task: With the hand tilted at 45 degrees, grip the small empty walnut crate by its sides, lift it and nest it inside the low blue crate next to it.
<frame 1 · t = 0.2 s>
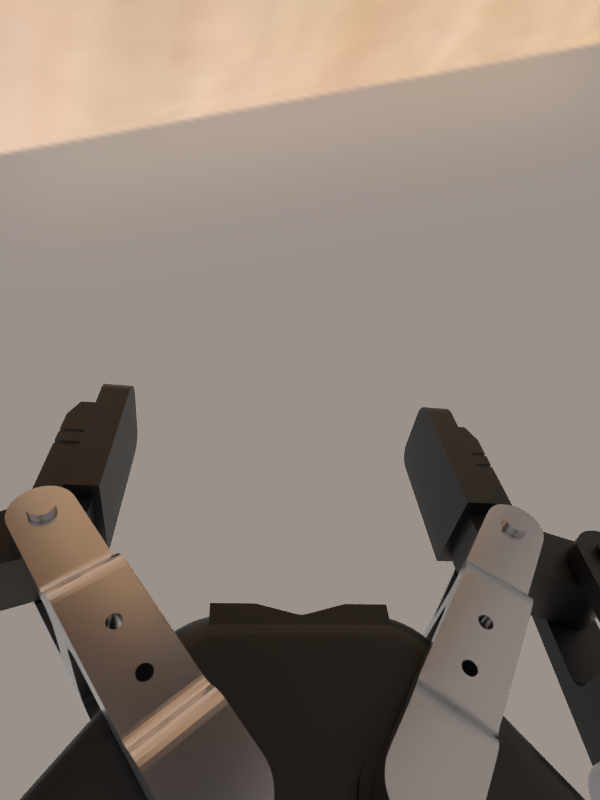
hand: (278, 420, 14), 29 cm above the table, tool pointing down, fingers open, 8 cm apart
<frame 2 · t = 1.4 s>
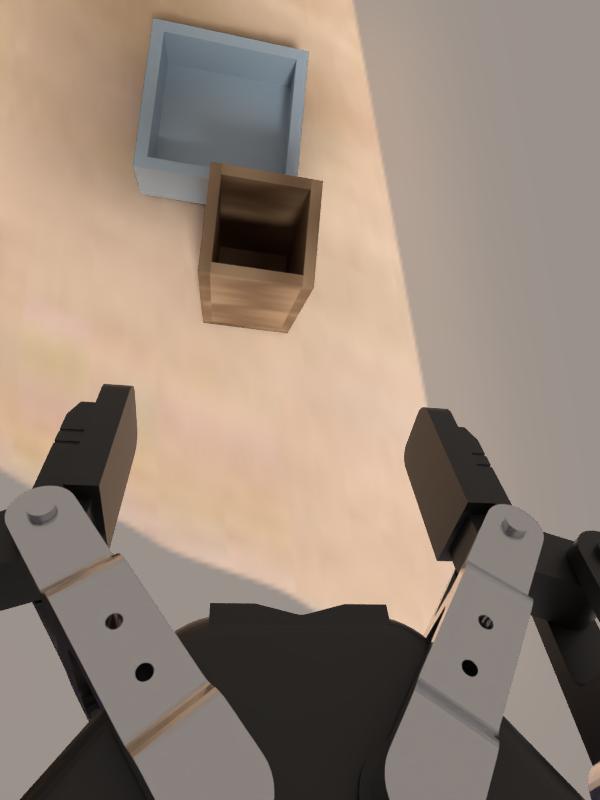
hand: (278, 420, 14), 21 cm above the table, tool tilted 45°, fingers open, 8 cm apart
blue crate: (223, 138, 37), on the table
walnut crate: (249, 287, 36), on the table
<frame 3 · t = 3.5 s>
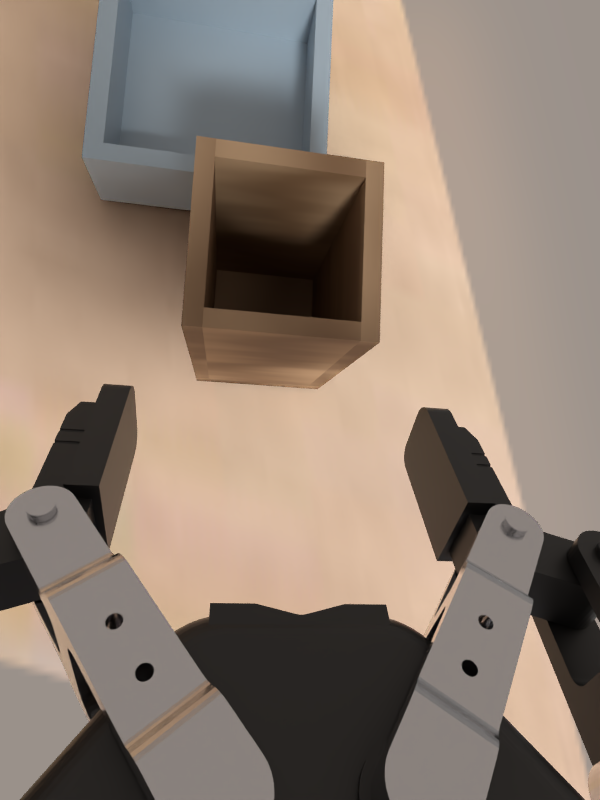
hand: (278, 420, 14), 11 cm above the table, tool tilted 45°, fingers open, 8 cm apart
blue crate: (216, 117, 26), on the table
walnut crate: (261, 326, 25), on the table
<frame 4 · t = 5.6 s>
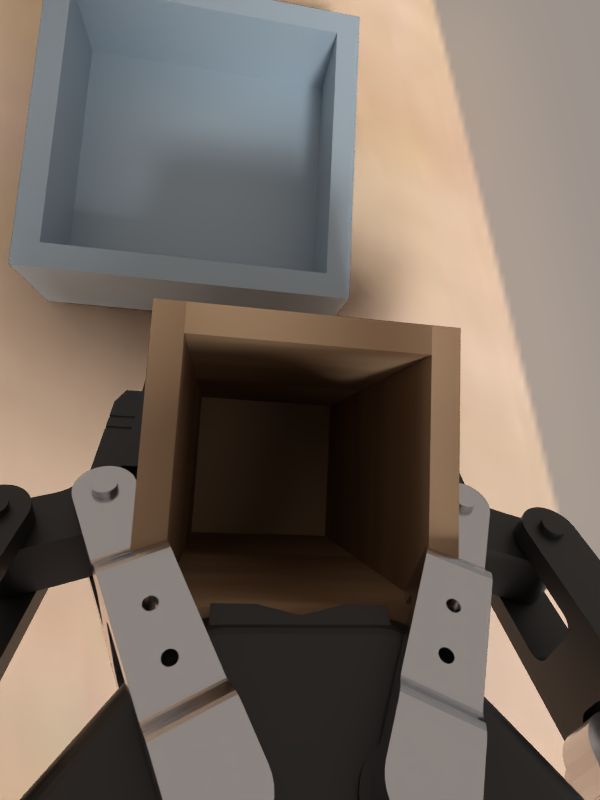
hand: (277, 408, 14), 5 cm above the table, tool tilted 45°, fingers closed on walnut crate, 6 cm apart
blue crate: (203, 186, 20), on the table
walnut crate: (261, 466, 19), on the table, touching gripper
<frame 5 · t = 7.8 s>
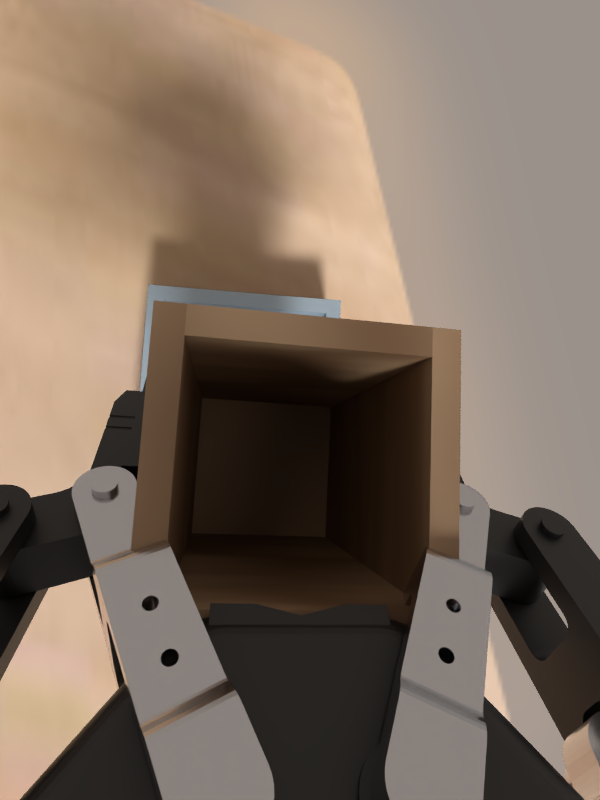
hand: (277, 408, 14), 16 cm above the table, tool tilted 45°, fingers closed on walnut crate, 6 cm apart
blue crate: (240, 396, 30), on the table
walnut crate: (262, 467, 19), point 11 cm above the table, touching gripper
when the fingers open (7 cm above the table, at t = 10.3 s): walnut crate drops 2 cm, resting on blue crate.
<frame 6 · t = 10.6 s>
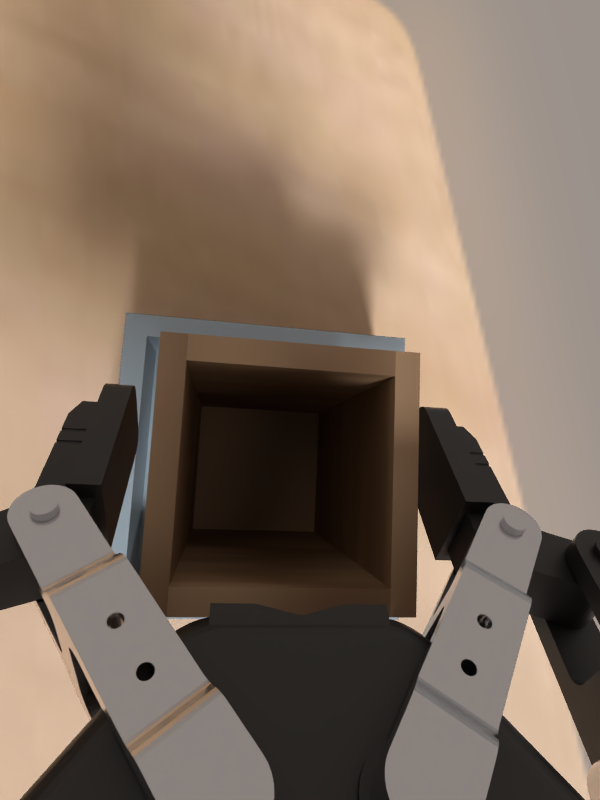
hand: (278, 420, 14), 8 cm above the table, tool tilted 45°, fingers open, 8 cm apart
blue crate: (256, 466, 22), on the table
walnut crate: (256, 468, 21), point 1 cm above the table, touching blue crate
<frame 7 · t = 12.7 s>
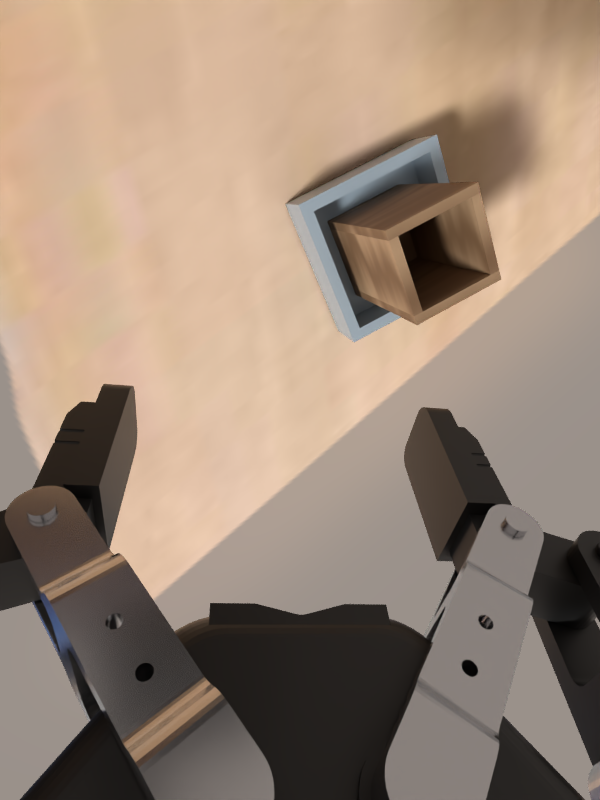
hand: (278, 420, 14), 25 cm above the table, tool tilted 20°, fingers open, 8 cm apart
blue crate: (373, 240, 39), on the table
walnut crate: (376, 241, 38), point 1 cm above the table, touching blue crate
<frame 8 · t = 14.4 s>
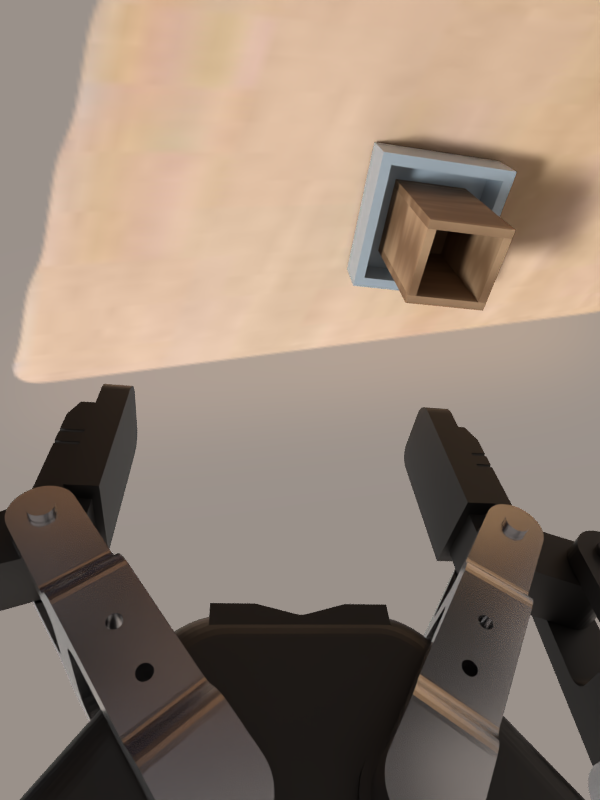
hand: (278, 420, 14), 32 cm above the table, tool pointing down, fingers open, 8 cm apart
blue crate: (418, 217, 43), on the table
walnut crate: (420, 220, 43), point 1 cm above the table, touching blue crate
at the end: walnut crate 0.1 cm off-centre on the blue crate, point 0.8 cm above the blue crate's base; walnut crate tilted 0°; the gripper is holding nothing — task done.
